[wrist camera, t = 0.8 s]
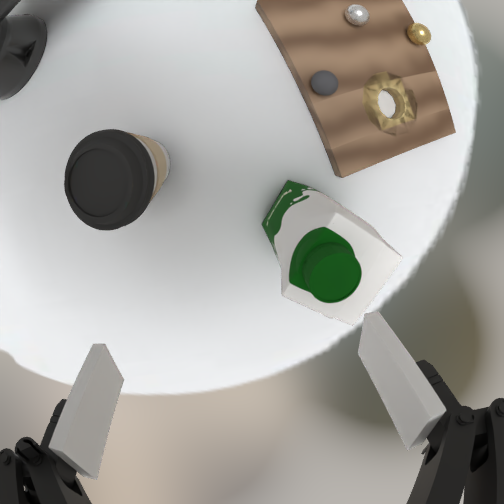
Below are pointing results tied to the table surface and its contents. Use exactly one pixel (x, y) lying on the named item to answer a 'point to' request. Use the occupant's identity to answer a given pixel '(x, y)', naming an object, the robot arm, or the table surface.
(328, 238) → the milk carton
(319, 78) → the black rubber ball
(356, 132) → the board
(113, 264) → the table surface
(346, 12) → the steel ball
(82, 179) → the coffee cup
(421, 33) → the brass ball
